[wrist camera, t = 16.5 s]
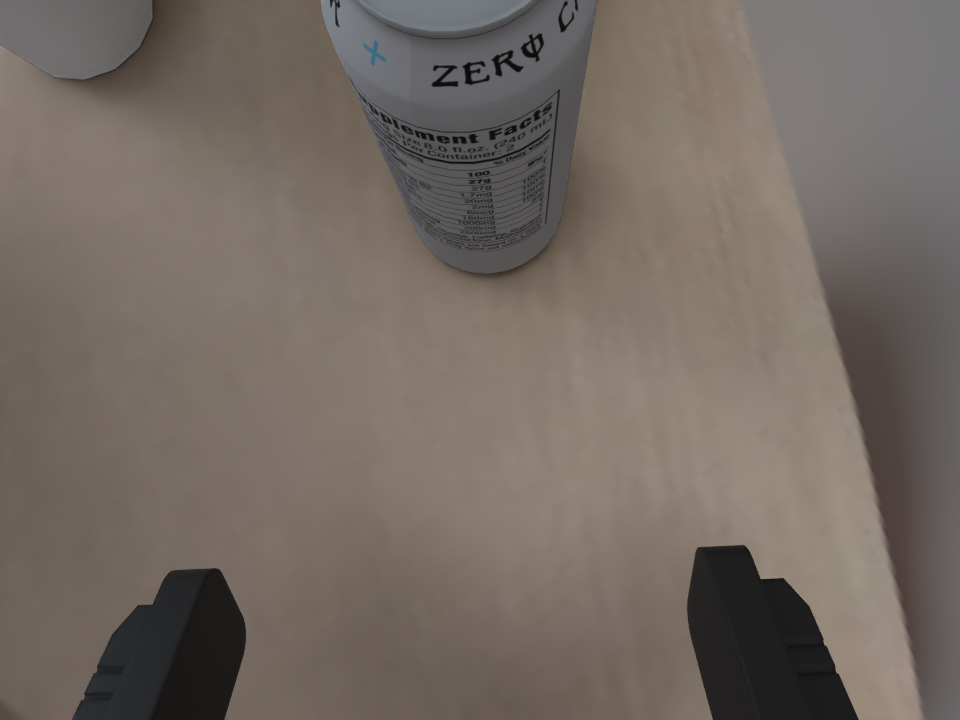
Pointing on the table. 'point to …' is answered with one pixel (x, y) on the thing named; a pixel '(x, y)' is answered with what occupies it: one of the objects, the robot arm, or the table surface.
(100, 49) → the foam cup
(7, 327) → the table surface
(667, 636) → the table surface
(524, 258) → the energy drink can
